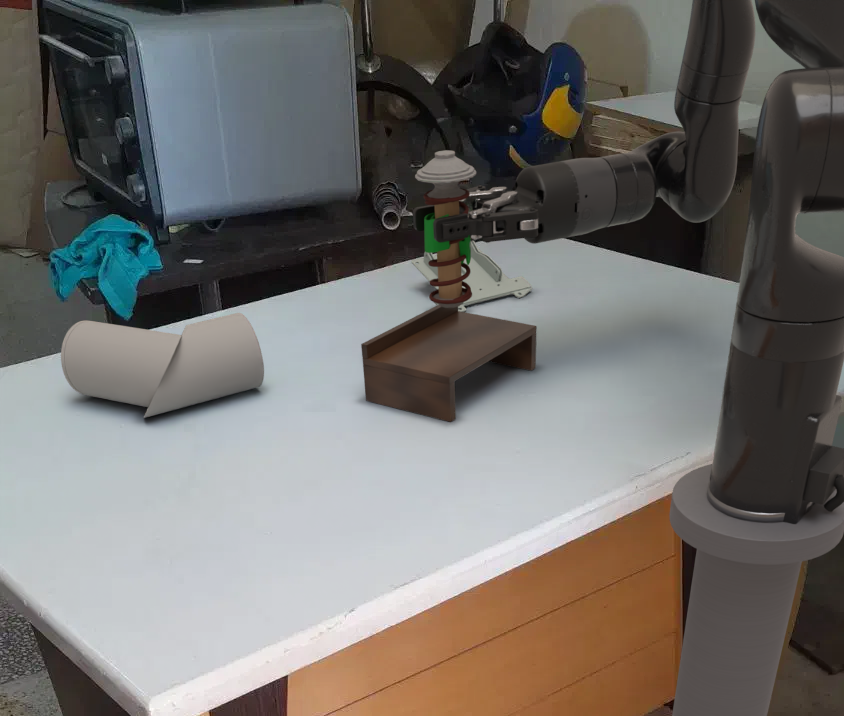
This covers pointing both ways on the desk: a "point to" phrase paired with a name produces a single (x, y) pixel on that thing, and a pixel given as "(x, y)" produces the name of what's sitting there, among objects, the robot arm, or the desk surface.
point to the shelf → (440, 358)
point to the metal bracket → (479, 277)
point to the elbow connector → (163, 362)
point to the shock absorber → (446, 200)
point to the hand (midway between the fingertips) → (425, 225)
